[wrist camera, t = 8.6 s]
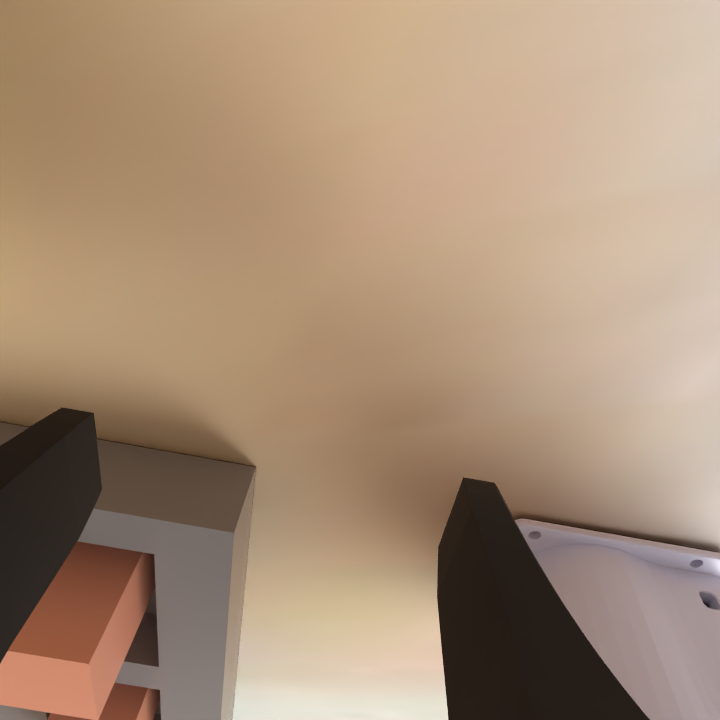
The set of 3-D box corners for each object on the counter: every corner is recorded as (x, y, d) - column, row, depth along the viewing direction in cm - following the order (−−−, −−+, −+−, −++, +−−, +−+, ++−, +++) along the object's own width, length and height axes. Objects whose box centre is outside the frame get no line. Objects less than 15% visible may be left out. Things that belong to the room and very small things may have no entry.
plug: (153, 529, 25) (88, 664, 20) (156, 586, 27) (97, 720, 22) (62, 513, 25) (-27, 645, 20) (71, 571, 27) (-6, 703, 22)
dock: (255, 467, 24) (205, 620, 18) (231, 724, 36) (196, 867, 30) (-32, 416, 24) (-180, 555, 18) (39, 692, 35) (-35, 831, 30)
